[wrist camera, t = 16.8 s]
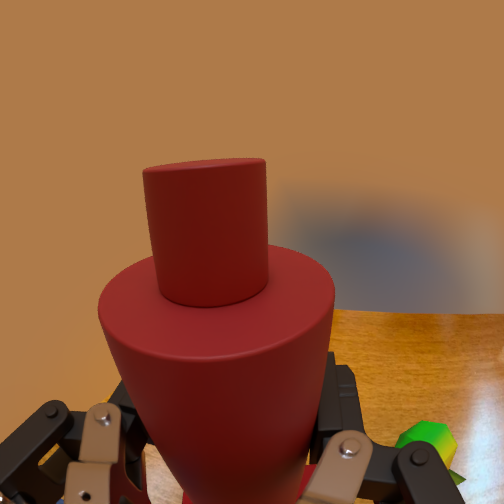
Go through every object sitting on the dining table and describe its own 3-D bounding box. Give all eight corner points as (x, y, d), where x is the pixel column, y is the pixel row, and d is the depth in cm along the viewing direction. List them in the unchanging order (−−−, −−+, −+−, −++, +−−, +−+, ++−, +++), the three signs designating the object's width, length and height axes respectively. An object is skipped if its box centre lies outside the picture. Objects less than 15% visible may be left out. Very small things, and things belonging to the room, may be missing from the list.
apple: (414, 406, 18) (490, 456, 11) (426, 406, 22) (488, 446, 14) (362, 469, 18) (429, 522, 11) (384, 458, 22) (440, 501, 14)
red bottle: (249, 550, 7) (159, 188, 2) (172, 489, 10) (48, 185, 5) (316, 481, 11) (378, 160, 6) (240, 437, 14) (213, 156, 9)
